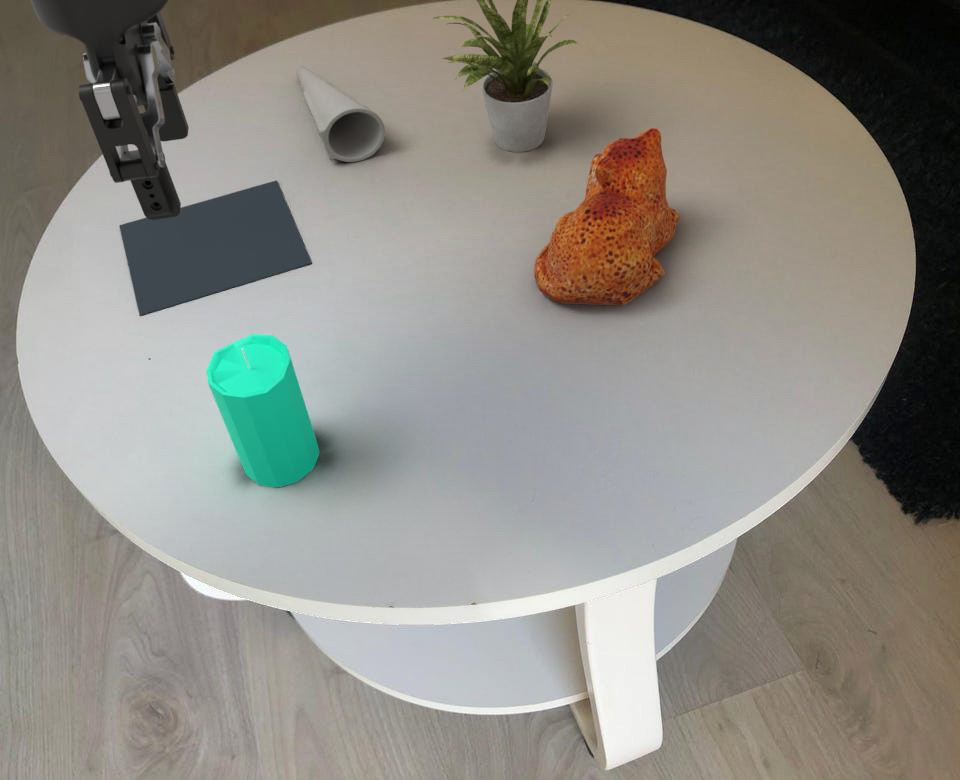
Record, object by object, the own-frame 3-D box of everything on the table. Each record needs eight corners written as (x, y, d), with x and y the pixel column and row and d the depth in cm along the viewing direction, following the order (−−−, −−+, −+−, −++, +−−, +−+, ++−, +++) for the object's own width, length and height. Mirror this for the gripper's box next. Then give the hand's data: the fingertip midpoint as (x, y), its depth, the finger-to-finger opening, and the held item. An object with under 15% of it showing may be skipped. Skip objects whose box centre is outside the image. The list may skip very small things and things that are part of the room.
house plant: (462, 91, 109) (447, -58, 97) (588, 93, 107) (589, -58, 95) (438, 169, 100) (418, 16, 88) (575, 174, 98) (575, 17, 86)
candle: (321, 423, 79) (289, 314, 70) (317, 484, 75) (282, 377, 66) (246, 429, 79) (204, 322, 70) (238, 490, 75) (192, 385, 66)
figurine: (590, 196, 95) (592, 104, 88) (697, 225, 91) (708, 132, 84) (516, 295, 87) (511, 203, 79) (631, 333, 83) (636, 239, 75)
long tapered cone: (353, 75, 116) (392, 149, 102) (302, 94, 115) (333, 171, 102) (338, 29, 112) (375, 99, 98) (284, 48, 112) (314, 121, 98)
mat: (139, 316, 89) (139, 315, 89) (119, 226, 98) (119, 225, 98) (311, 263, 92) (311, 262, 92) (277, 181, 101) (276, 180, 101)
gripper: (27, -121, 57) (123, 122, 69) (-22, -5, 48) (99, 253, 60) (157, -138, 58) (230, 107, 70) (134, -26, 48) (223, 235, 60)
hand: (169, 174), depth 65 cm, fingers open, 8 cm apart
